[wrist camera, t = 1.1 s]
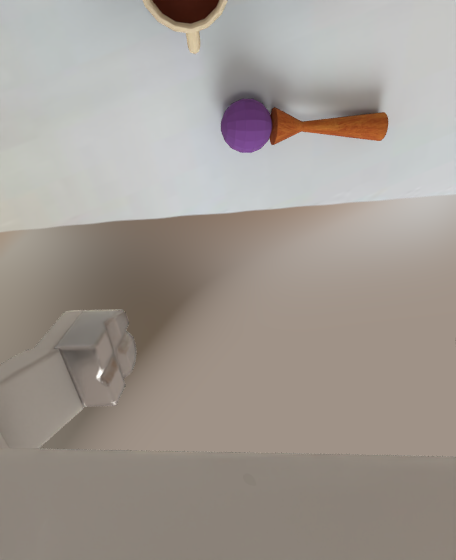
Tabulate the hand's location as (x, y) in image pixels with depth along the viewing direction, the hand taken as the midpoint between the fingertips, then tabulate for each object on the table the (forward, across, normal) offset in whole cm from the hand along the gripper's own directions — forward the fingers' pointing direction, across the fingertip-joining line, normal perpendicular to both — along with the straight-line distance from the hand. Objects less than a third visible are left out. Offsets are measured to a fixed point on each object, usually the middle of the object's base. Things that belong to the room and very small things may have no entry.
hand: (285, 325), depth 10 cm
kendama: (+45, -3, +1) cm, 45 cm away
